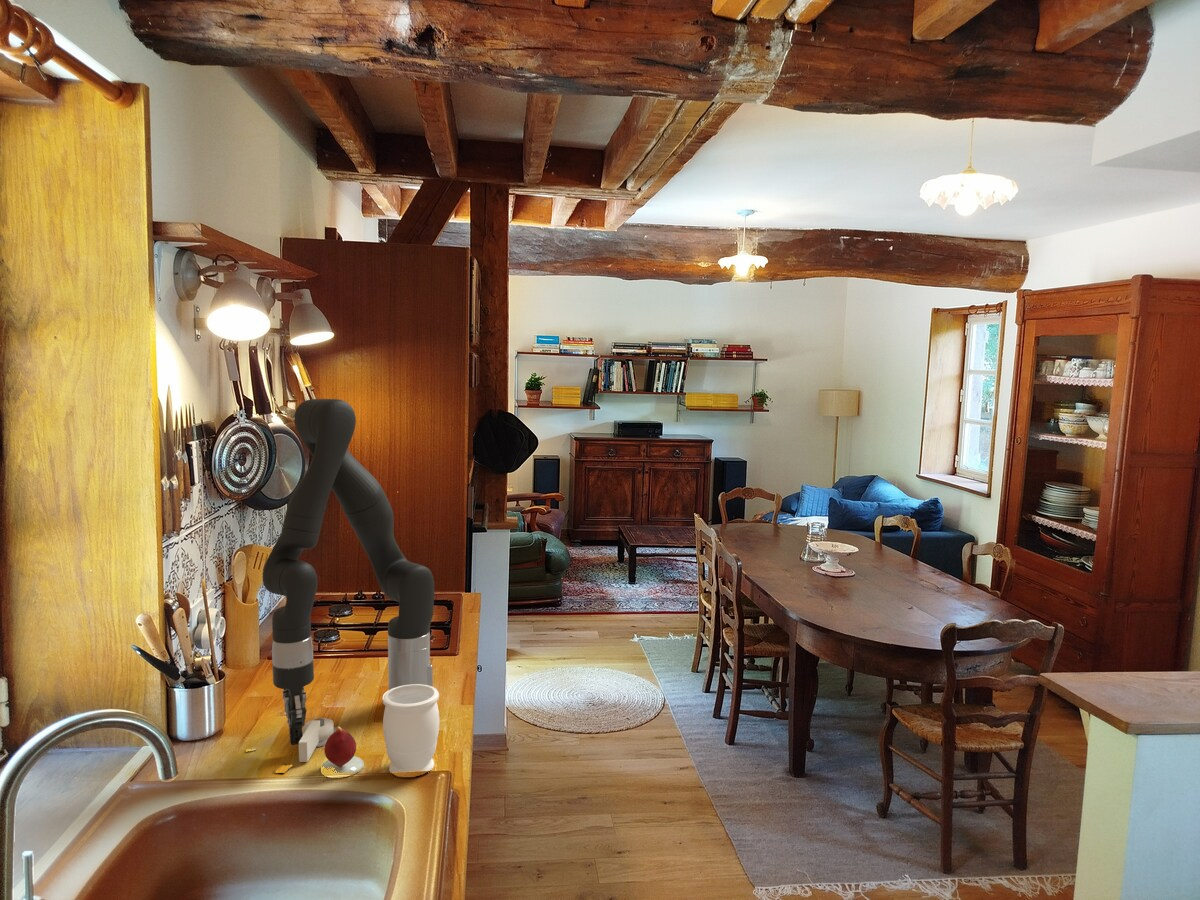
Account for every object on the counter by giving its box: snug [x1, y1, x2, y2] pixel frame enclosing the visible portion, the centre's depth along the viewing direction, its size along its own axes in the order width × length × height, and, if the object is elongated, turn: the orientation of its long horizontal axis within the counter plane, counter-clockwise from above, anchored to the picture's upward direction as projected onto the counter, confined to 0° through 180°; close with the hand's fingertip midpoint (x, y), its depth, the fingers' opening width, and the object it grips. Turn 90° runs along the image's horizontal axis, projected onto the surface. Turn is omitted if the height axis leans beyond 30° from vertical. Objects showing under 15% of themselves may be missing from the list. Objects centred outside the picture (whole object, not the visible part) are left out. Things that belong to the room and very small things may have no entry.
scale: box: [244, 726, 337, 751], centre depth 161 cm, size 18×17×1 cm
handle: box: [298, 717, 335, 763], centre depth 163 cm, size 14×6×4 cm, turn 5°
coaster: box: [321, 755, 365, 773], centre depth 155 cm, size 8×8×1 cm
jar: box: [382, 684, 440, 773], centre depth 154 cm, size 11×10×15 cm
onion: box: [323, 726, 357, 767], centre depth 154 cm, size 6×6×8 cm
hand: (296, 742), depth 159 cm, fingers closed
